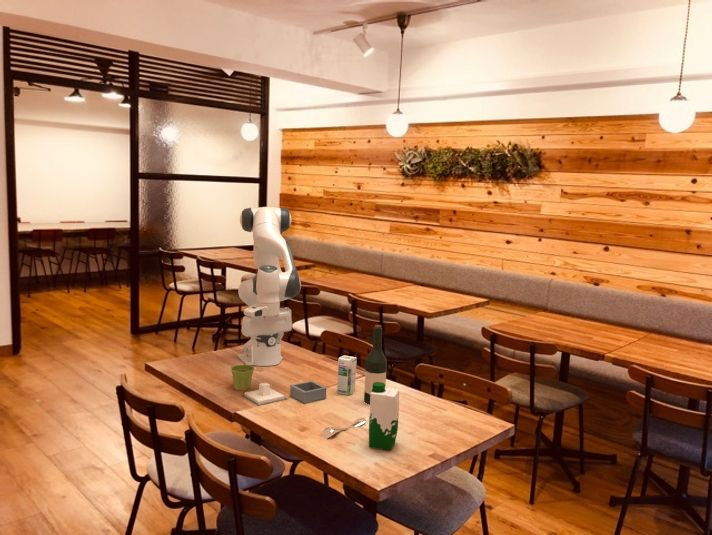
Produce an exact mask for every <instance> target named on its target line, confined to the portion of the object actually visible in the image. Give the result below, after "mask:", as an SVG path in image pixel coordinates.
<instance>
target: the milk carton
mask: <svg viewBox="0 0 712 535" xmlns="http://www.w3.org/2000/svg"><path fill="white" fill-rule="evenodd" d="M399 412H400V389H397V388H392V387H388V386H387V387H386V386H385V384H384V383H381V382H375V383H373V388H372V392H371V393H370V405H369V416H368V417H369V418H368V447H369V448H370V449H371V448H372V449H377V450H382V451H383V450H384V451H392V449H393V447H394V444H395V443H396V440H397V435H398V430H399V426H398V425H399V415H400V413H399Z"/></svg>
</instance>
